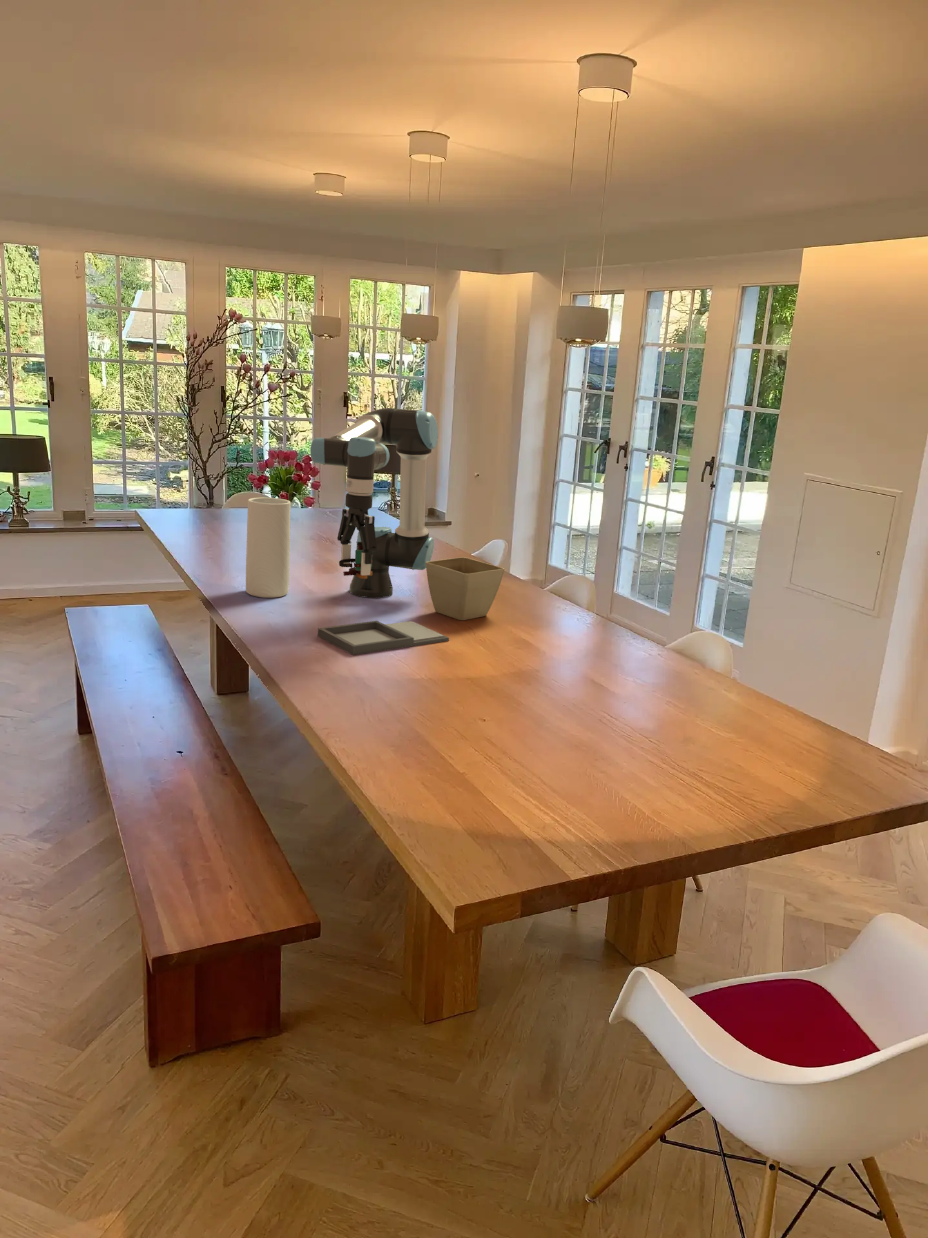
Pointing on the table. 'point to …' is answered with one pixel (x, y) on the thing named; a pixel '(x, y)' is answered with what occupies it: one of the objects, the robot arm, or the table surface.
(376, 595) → the robot arm
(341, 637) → the case
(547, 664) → the table surface
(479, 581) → the flower pot
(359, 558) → the binoculars
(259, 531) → the vase
